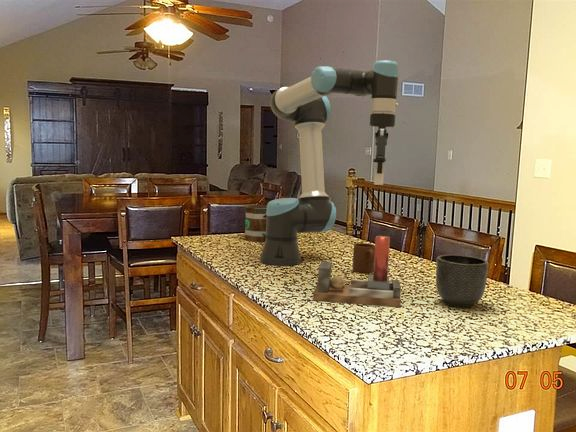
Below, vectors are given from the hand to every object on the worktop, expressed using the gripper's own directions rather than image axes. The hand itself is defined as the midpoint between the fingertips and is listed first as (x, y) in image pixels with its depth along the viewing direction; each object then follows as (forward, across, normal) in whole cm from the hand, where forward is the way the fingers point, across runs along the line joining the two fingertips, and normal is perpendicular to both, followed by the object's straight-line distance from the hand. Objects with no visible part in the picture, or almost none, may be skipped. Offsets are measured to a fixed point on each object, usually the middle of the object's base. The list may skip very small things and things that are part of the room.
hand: (378, 183), depth 166 cm
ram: (+30, -17, -2) cm, 34 cm away
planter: (+32, -14, -25) cm, 43 cm away
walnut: (+30, -17, +10) cm, 36 cm away
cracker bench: (+32, -17, +4) cm, 37 cm away
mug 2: (+33, +16, +2) cm, 37 cm away
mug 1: (+33, +66, +50) cm, 89 cm away
